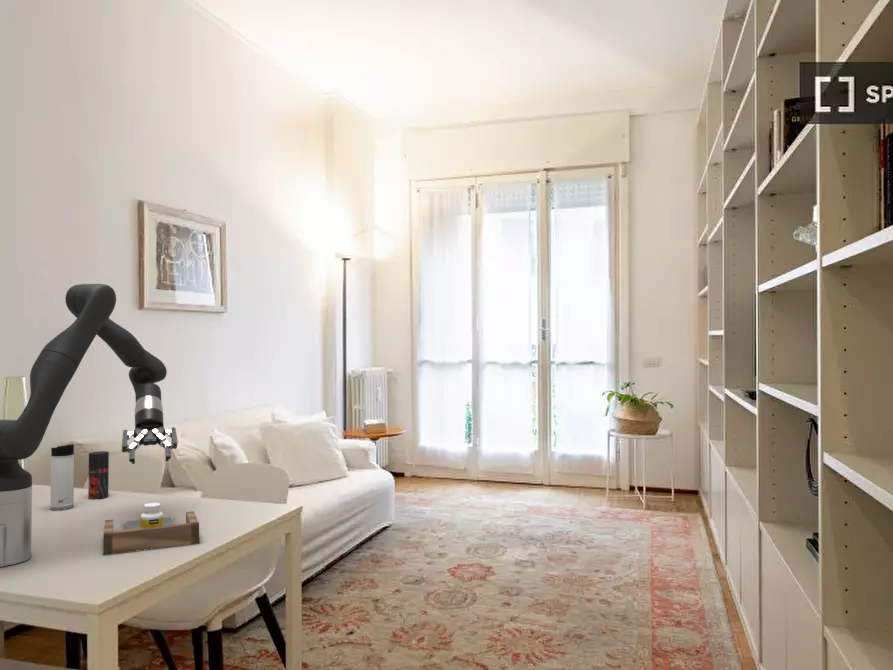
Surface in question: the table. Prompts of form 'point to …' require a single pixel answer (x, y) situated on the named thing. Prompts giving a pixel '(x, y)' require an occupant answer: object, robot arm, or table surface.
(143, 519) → the supplement bottle
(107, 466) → the deodorant
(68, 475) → the travel mug
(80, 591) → the table surface
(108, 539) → the walnut bay
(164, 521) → the slate pad
